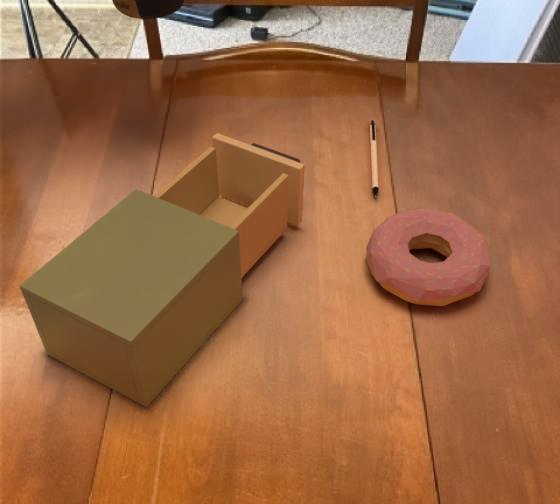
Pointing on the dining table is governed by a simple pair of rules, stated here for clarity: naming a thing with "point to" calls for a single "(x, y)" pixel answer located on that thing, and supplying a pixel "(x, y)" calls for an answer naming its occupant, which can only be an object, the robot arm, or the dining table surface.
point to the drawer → (242, 192)
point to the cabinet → (137, 294)
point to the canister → (147, 8)
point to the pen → (374, 158)
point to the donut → (422, 275)
